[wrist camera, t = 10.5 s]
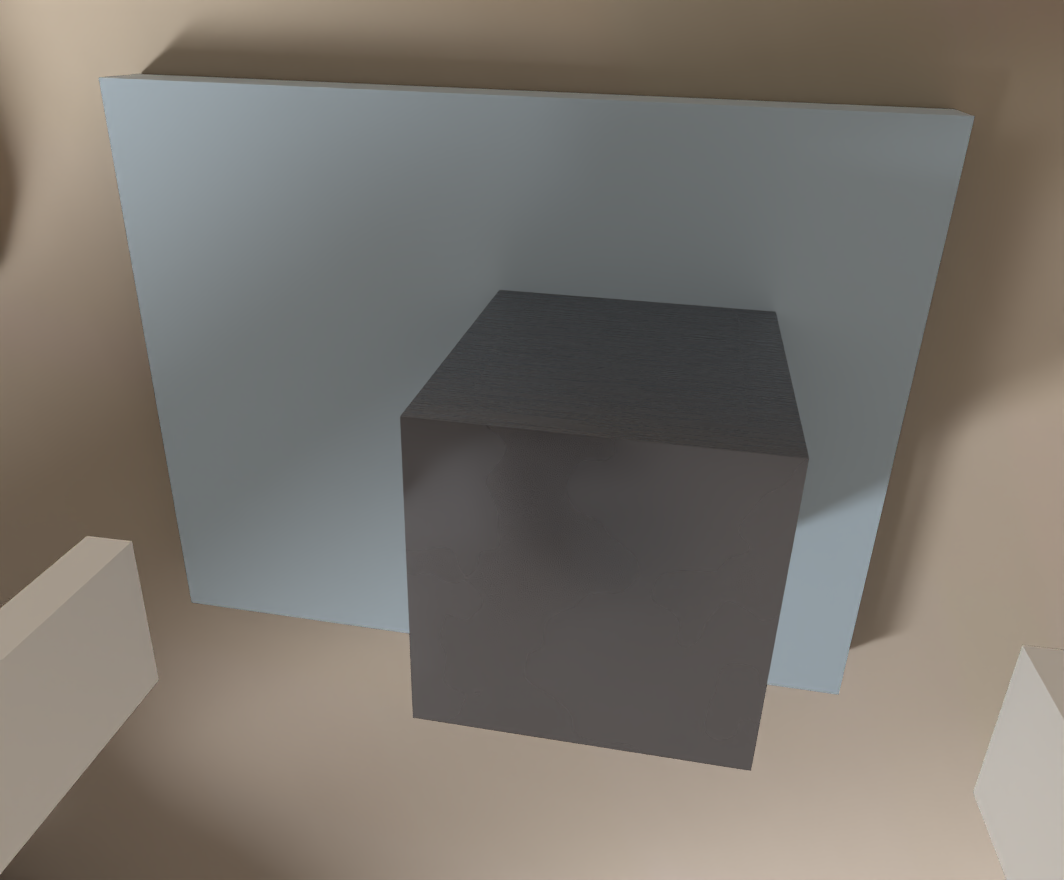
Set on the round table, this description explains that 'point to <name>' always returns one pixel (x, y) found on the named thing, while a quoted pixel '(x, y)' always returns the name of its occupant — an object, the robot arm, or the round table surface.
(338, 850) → the round table surface
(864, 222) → the board
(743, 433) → the brushed metal cube
